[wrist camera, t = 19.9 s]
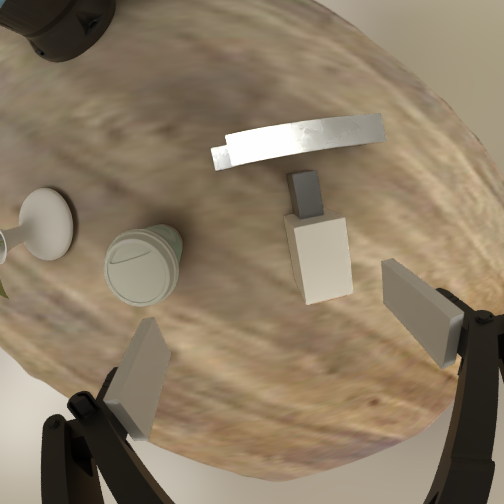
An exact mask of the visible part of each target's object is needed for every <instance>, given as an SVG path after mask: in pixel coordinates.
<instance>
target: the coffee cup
mask: <svg viewBox="0 0 504 504" xmlns="http://www.w3.org/2000/svg"><path fill="white" fill-rule="evenodd" d="M182 250H183V241H182V238H181V236H180V234H179V232H178V231H177V230H176V229H175V228H173V227H172V226H169V225H166V224H158V225H154V226H151V227H147V228H144V229H133V230H129V231H126V232H124V233H122V234H120V235H119V236H117V237H116V238H115V239H114V241H113V242H112V243H111V245H110V246H109V248H108V250H107V253H106V256H105V261H104V275H105V279H106V282H107V284H108V286H109V288H110V289H111V291H112V292H113V293H114V294H115V295H116V296H117V297H118V298H119V299H120V300H122V301H123V302H125V303H127V304H129V305H133V306H138V307H144V306H150V305H153V304H156V303H159V302H161V301H162V300H164V299H165V298H166V297H167V296H169V295H170V294H171V292H172V291H173V290H174V288H175V286H176V284H177V280H178V275H179V267H178V266H179V262H180V258H181V254H182Z"/></svg>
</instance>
